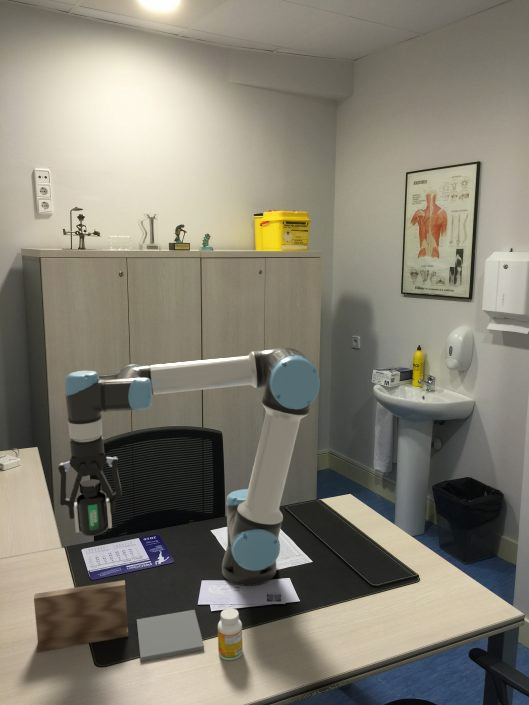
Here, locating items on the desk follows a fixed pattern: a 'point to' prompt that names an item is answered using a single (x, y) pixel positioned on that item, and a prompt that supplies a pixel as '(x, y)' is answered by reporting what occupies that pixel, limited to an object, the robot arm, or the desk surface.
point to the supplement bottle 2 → (230, 635)
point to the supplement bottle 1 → (92, 508)
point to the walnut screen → (80, 615)
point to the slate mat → (169, 635)
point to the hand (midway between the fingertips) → (94, 527)
